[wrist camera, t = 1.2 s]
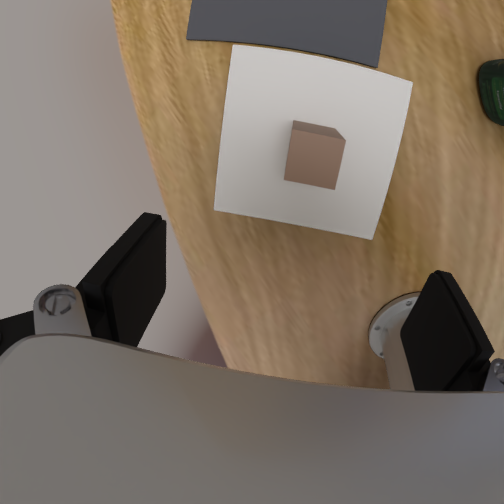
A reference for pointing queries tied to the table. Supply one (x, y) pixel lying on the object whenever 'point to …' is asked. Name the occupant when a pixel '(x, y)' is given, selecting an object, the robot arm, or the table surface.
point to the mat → (295, 25)
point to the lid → (308, 140)
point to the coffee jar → (493, 89)
